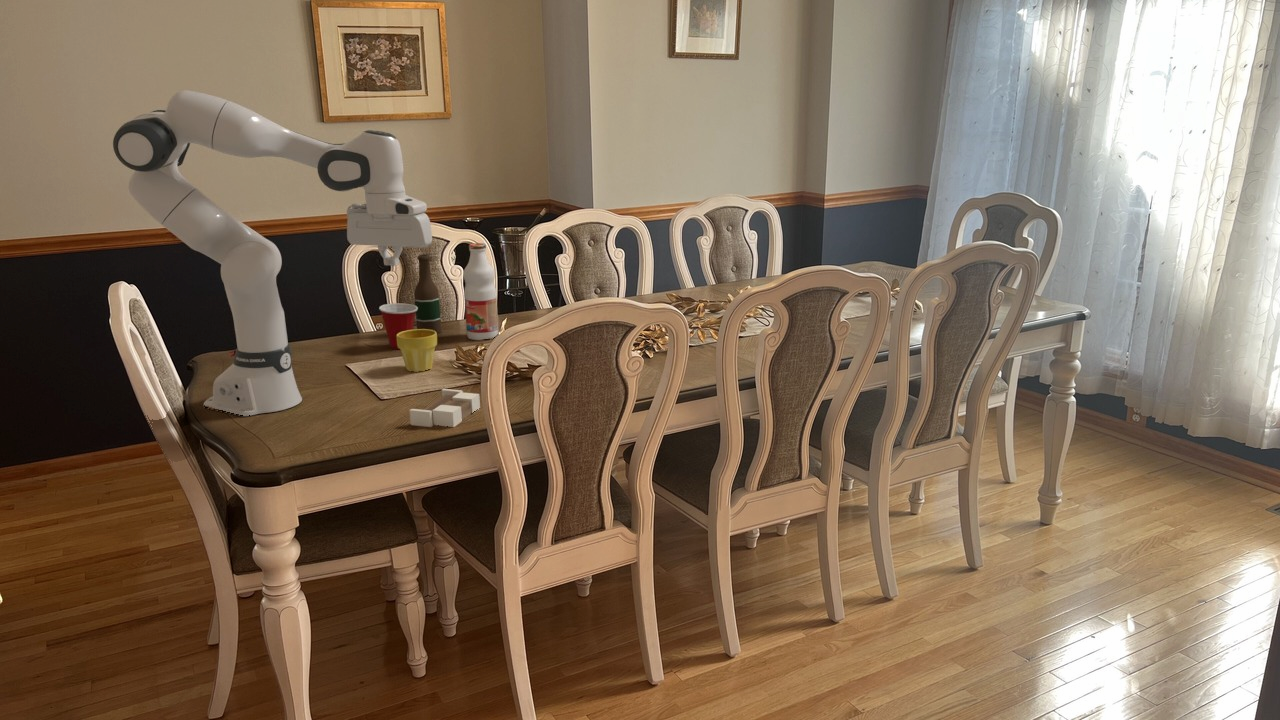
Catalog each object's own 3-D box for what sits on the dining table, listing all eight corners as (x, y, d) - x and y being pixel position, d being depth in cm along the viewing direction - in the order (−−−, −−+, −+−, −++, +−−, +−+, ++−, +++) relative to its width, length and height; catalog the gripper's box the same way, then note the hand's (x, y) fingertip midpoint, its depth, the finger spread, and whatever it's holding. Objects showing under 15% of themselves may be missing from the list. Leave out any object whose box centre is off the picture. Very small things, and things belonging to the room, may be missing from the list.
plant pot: (422, 360, 256) (420, 326, 253) (447, 367, 249) (444, 332, 247) (391, 369, 248) (388, 334, 245) (415, 376, 242) (412, 340, 239)
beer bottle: (412, 335, 281) (405, 257, 274) (422, 329, 289) (416, 252, 282) (436, 336, 280) (430, 257, 273) (446, 330, 287) (440, 253, 281)
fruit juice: (503, 338, 278) (498, 245, 270) (473, 342, 273) (467, 248, 265) (492, 331, 285) (486, 240, 277) (462, 335, 281) (456, 243, 273)
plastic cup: (415, 351, 264) (412, 310, 261) (377, 351, 265) (374, 310, 261) (425, 341, 275) (422, 301, 271) (388, 341, 275) (385, 302, 272)
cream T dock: (410, 424, 208) (409, 410, 207) (444, 402, 222) (443, 388, 221) (451, 429, 205) (449, 414, 204) (482, 406, 219) (481, 392, 218)
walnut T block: (423, 422, 209) (422, 409, 208) (446, 406, 219) (445, 394, 218) (455, 425, 207) (454, 412, 206) (477, 409, 217) (476, 397, 216)
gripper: (338, 205, 210) (344, 265, 214) (418, 207, 204) (423, 269, 208) (354, 201, 215) (359, 260, 219) (433, 203, 210) (437, 264, 214)
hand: (391, 265), depth 213 cm, fingers closed
